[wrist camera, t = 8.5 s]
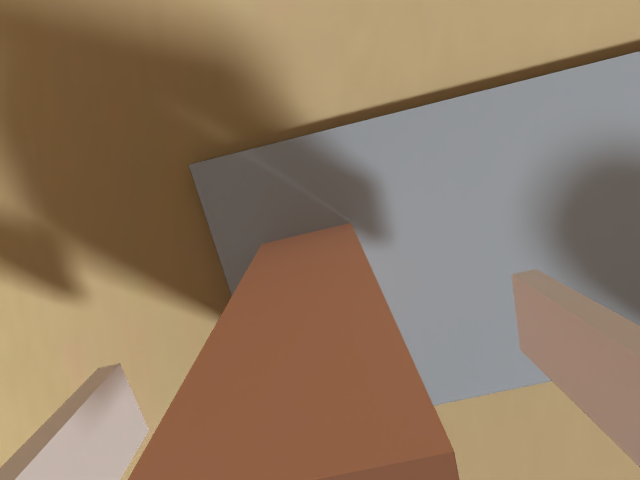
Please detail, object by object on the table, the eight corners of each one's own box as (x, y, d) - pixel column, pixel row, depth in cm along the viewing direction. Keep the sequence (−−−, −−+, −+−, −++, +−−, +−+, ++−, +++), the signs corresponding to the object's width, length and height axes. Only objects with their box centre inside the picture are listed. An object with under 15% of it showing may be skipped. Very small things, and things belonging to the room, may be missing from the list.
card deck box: (295, 362, 17) (249, 812, 6) (260, 244, 16) (98, 522, 4) (379, 343, 17) (514, 772, 5) (352, 222, 15) (457, 450, 4)
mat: (279, 429, 19) (277, 437, 18) (193, 163, 15) (188, 164, 15) (668, 347, 18) (680, 354, 17) (670, 44, 14) (684, 39, 14)
